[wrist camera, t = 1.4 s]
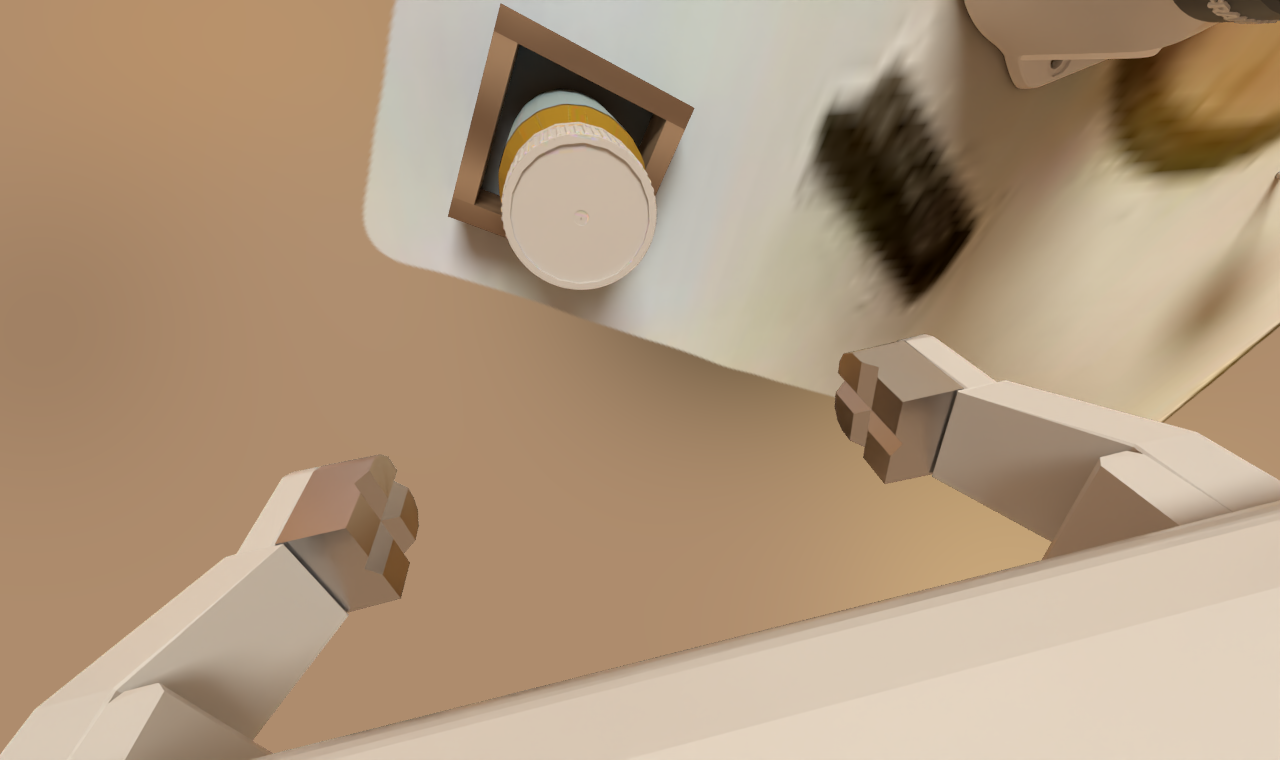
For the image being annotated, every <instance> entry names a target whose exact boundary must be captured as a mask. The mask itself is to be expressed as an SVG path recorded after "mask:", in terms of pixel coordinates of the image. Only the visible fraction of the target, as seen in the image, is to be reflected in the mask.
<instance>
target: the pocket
mask: <svg viewBox="0 0 1280 760" xmlns="http://www.w3.org/2000/svg"><path fill="white" fill-rule="evenodd" d="M520 45H522V46H524V47H526V48H528V49H530V50H532V51H534V52H536V53H537V54H539V55H541V56H543V57H545V58H547V59H549V60H551V61H553V62H555V63H557V64H559V65H561V66H563V67H565V68H566V69H568V70H570V71H572V72H574V73H576V74H578V75H580V76H582V77H584V78H586V79H588V80H590V81H592V82H594V83H596V84H597V85H599V86H601V87H603V88H605V89H607V90H609V91H611V92H613V93H615V94H617V95H619V96H621V97H623V98H625V99H626V100H628V101H630V102H632V103H634V104H636V105H638V106H640V107H642V108H644V109H646V110H648V111H650V112H652V113H653V115H652V117H651V120H650V122H649V124H648V127H647V129H646V132H645V134H644V137H643V139H642V141H641V144H640V146H639V149H638V150H639V152H640V154H641V156H642V158H643V161H644V165H645V170H646V172H647V174H648V175H647V176H648V178H649V179H650V180H651V186H652V187H653V189H654V192H653V193H654V196H655V195H656V193H657V191H658V189H659V186H660V184H661V182H662V180H663V177H664V175H665V173H666V171H667V168H668V166H669V164H670V162H671V159H672V157H673V155H674V153H675V151H676V148H677V146H678V144H679V142H680V139H681V137H682V135H683V133H684V130H685V128H686V126H687V124H688V121H689V119H690V117H691V115H692V112H693V110H694V108H693V107H692V106H690V105H688V104H686V103H684V102H682V101H680V100H679V99H677V98H675V97H673V96H671V95H669V94H668V93H666V92H664V91H662V90H660V89H658V88H656V87H655V86H653V85H651V84H649V83H647V82H645V81H643V80H642V79H640V78H638V77H636V76H634V75H632V74H631V73H629V72H627V71H625V70H623V69H621V68H619V67H618V66H616V65H614V64H612V63H610V62H608V61H606V60H605V59H603V58H601V57H599V56H597V55H595V54H593V53H592V52H590V51H588V50H586V49H584V48H582V47H581V46H579V45H577V44H575V43H573V42H571V41H569V40H568V39H566V38H564V37H562V36H560V35H558V34H556V33H555V32H553V31H551V30H549V29H547V28H545V27H543V26H542V25H540V24H538V23H536V22H534V21H532V20H531V19H529V18H527V17H525V16H523V15H521V14H519V13H518V12H516V11H514V10H512V9H510V8H508V7H506V6H505V5H503V4H500V8H499V12H498V16H497V20H496V24H495V28H494V32H493V36H492V40H491V45H490V49H489V53H488V57H487V61H486V65H485V69H484V73H483V77H482V81H481V85H480V89H479V93H478V97H477V101H476V105H475V109H474V113H473V117H472V121H471V125H470V129H469V134H468V138H467V142H466V146H465V150H464V154H463V158H462V162H461V166H460V170H459V174H458V178H457V182H456V186H455V190H454V194H453V198H452V202H451V206H450V210H449V214H448V217H451V218H454V219H456V220H459V221H462V222H465V223H467V224H470V225H473V226H475V227H478V228H481V229H484V230H486V231H489V232H492V233H495V234H497V235H500V236H503V237H505V238H506V235H505V234H506V232H505V230H504V229H503V221H502V218H501V217H502V212H501V206H502V203H501V199H500V196H499V195H496V194H494V193H491V192H489V191H486V190H483V189H481V186H482V183H483V179H484V175H485V172H486V168H487V164H488V161H489V157H490V153H491V150H492V146H493V142H494V139H495V135H496V131H497V128H498V124H499V120H500V117H501V113H502V109H503V106H504V102H505V98H506V95H507V91H508V87H509V84H510V80H511V76H512V73H513V69H514V65H515V61H516V58H517V54H518V50H519V47H520Z"/></svg>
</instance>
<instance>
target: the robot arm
mask: <svg viewBox="0 0 1280 760" xmlns="http://www.w3.org/2000/svg"><path fill="white" fill-rule="evenodd" d="M964 2H965V5H966V8H967V11H968V13H969V15H970V17H971V19H972V21H973V23H974V24H975V26H976V27H977V29H978V30H979V31H980V32H981V33H982V34H983V35H984V37H986V38H987V39H988V40H989V41H990V42H992V43H993V44H994V45H995V46H996V47H998V48H999V50H1000V51H1001V52H1002V53H1003V55H1004V57H1005V61H1006V64H1007V68H1008V71H1009V74H1010V77H1011V79H1012V81H1013V83H1014V85H1015V86H1016V87H1017V88H1020V89H1028V88H1038V87H1041V86H1043V85H1046V84H1048V83H1051V82H1053V81H1056V80H1058V79H1060V78H1063V77H1065V76H1068V75H1070V74H1073V73H1075V72H1078V71H1080V70H1083V69H1085V68H1088V67H1090V66H1092V65H1095V64H1097V63H1100V62H1102V61H1105V60H1107V59H1128V58H1144V57H1150V56H1154V55H1156V54H1157V53H1158V52H1159V51H1160V50H1161V49H1162V48H1163V47H1165V46H1169V45H1172V44H1175V43H1178V42H1180V41H1183V40H1185V39H1187V38H1189V37H1191V36H1193V35H1195V34H1197V33H1199V32H1202V31H1204V30H1206V29H1208V28H1210V27H1212V26H1214V25H1216V24H1218V23H1220V22H1234V23H1239V24H1261V23H1276V22H1277V21H1279V20H1280V0H964ZM1052 60H1053V62H1052V64H1051V61H1052ZM1050 64H1051V65H1050ZM838 373H839V374H840V376H841V377H842V378H843V379H844V380H845V381H844V383H843V384H842V385H841V386H840V388H839V389H838V390H837V392H836V396H835V410H836V415H837V420H838V422H839V424H840V427H841V429H842V431H843V432H844V433H845V435H846V436H847V437H848V438H849V440H850V441H852V442H855V443H857V444H859V445H861V446H864V447H865V449H864V456H863V458H864V459H865V460H866V461H867V463H868V464H869V465H870V466H871V468H872V469H873V470H874V471H875V473H876V474H877V475H878V476H879V478H880V479H881V480H882V481H883V483H884V484H887V483H891V482H897V481H902V480H906V479H911V478H915V477H921V476H925V475H930V474H932V477H934V478H935V479H937V480H939V481H941V482H943V483H945V484H947V485H948V486H950V487H952V488H954V489H956V490H957V491H959V492H961V493H963V494H965V495H967V496H968V497H970V498H972V499H974V500H976V501H978V502H980V503H981V504H983V505H985V506H987V507H989V508H990V509H992V510H994V511H996V512H998V513H1000V514H1001V515H1003V516H1005V517H1007V518H1009V519H1011V520H1013V521H1014V522H1016V523H1018V524H1020V525H1022V526H1024V527H1025V528H1027V529H1029V530H1031V531H1033V532H1035V533H1036V534H1038V535H1040V536H1042V537H1044V538H1046V539H1047V540H1050V541H1051V542H1052V543H1051V544H1050V546H1049V548H1048V550H1047V552H1046V553H1045V555H1044V557H1043V558H1042V560H1041V561H1037V562H1033V563H1029V564H1025V565H1021V566H1017V567H1013V568H1009V569H1005V570H1001V571H997V572H993V573H990V574H985V575H982V576H977V577H973V578H969V579H966V580H961V581H957V582H953V583H949V584H945V585H941V586H938V587H934V588H930V589H926V590H922V591H918V592H914V593H910V594H906V595H902V596H898V597H894V598H890V599H886V600H882V601H878V602H874V603H870V604H866V605H862V606H858V607H854V608H850V609H846V610H842V611H838V612H834V613H830V614H827V615H823V616H818V617H814V618H810V619H806V620H803V621H799V622H795V623H791V624H787V625H783V626H779V627H775V628H771V629H767V630H763V631H759V632H755V633H751V634H747V635H743V636H739V637H735V638H731V639H728V640H723V641H720V642H715V643H711V644H707V645H703V646H699V647H695V648H691V649H687V650H683V651H680V652H675V653H672V654H668V655H664V656H660V657H656V658H652V659H648V660H644V661H640V662H636V663H632V664H628V665H624V666H620V667H616V668H612V669H608V670H605V671H600V672H596V673H593V674H589V675H585V676H580V677H577V678H573V679H569V680H565V681H561V682H557V683H553V684H549V685H545V686H541V687H537V688H533V689H529V690H525V691H521V692H517V693H513V694H509V695H505V696H501V697H497V698H493V699H489V700H485V701H481V702H477V703H473V704H469V705H466V706H461V707H457V708H453V709H449V710H445V711H442V712H437V713H434V714H429V715H425V716H422V717H418V718H414V719H410V720H406V721H402V722H398V723H394V724H390V725H386V726H382V727H378V728H374V729H370V730H366V731H362V732H358V733H354V734H350V735H346V736H342V737H338V738H334V739H330V740H326V741H322V742H319V743H314V744H310V745H306V746H303V747H298V748H295V749H290V750H286V751H282V752H278V753H274V754H273V753H271V752H270V751H268V750H267V749H265V748H264V747H262V746H260V745H259V744H257V743H255V742H254V741H253V739H254V738H255V737H256V736H257V734H258V733H259V732H260V730H261V729H262V728H263V726H264V725H265V724H266V722H267V721H268V720H269V718H270V717H271V716H272V715H273V713H274V712H275V711H276V709H277V708H278V707H279V705H280V704H281V703H282V701H283V700H284V699H285V698H286V696H287V695H288V694H289V692H290V691H291V690H292V688H293V687H294V686H295V684H296V683H297V682H298V681H299V679H300V678H301V677H302V675H303V674H304V673H305V671H306V670H307V669H308V668H309V666H310V665H311V664H312V662H313V661H314V660H315V658H316V657H317V656H318V654H319V653H320V652H321V650H322V649H323V648H324V647H325V645H326V644H327V643H328V641H329V640H330V639H331V637H332V636H333V635H334V633H335V632H336V631H337V630H338V628H339V627H340V626H341V624H342V623H343V622H344V620H345V619H346V618H347V616H348V613H347V612H351V611H355V610H359V609H363V608H366V607H370V606H374V605H378V604H382V603H385V602H389V601H393V600H397V599H400V598H401V596H402V592H403V588H404V584H405V580H406V576H407V572H408V568H409V564H410V562H409V561H408V559H407V558H406V556H405V555H404V553H405V551H406V550H407V549H408V548H409V547H410V546H411V545H412V544H413V542H414V541H415V540H416V536H417V531H418V527H419V524H418V509H417V506H416V503H415V500H414V497H413V495H412V494H411V492H410V490H409V489H408V488H407V487H405V486H403V485H401V484H399V483H397V482H395V481H394V479H395V475H396V473H397V469H396V468H395V466H394V465H393V463H392V462H391V460H390V459H389V457H387V456H384V455H375V456H370V457H365V458H360V459H354V460H349V461H344V462H339V463H334V464H329V465H325V466H321V467H315V468H311V469H306V470H301V471H296V472H292V473H290V474H288V475H286V476H285V477H283V478H282V479H281V481H280V483H279V484H278V486H277V488H276V490H275V491H274V493H273V494H272V496H271V498H270V499H269V501H268V503H267V505H266V506H265V508H264V509H263V511H262V513H261V514H260V516H259V517H258V519H257V521H256V523H255V524H254V526H253V528H252V529H251V531H250V533H249V534H248V536H247V537H246V539H245V541H244V542H243V544H242V546H241V547H240V549H239V551H238V552H237V554H236V555H232V556H227V557H225V558H224V559H222V560H221V561H220V562H219V563H217V564H216V565H215V566H214V567H212V568H211V569H210V570H209V571H207V572H206V573H205V574H204V575H202V576H201V577H200V578H199V579H197V580H196V581H195V582H194V583H192V584H191V585H190V586H189V587H187V588H186V589H185V590H184V591H182V592H181V593H180V594H179V595H177V596H176V597H175V598H174V599H172V600H171V601H170V602H169V603H167V604H166V605H165V606H164V607H163V608H161V609H160V610H158V611H157V612H156V613H155V614H153V615H152V616H151V617H150V618H148V619H147V620H146V621H145V622H143V623H142V624H141V625H140V626H139V627H137V628H136V629H135V630H134V631H132V632H131V633H130V634H128V635H127V636H126V637H125V638H123V639H122V640H121V641H120V642H118V643H117V644H116V645H115V646H114V647H112V648H111V649H110V650H108V651H107V652H106V653H105V654H103V655H102V656H101V657H100V658H98V659H97V660H96V661H95V662H94V663H92V664H91V665H90V666H88V667H87V668H86V669H85V670H83V671H82V672H81V673H80V674H78V675H77V676H76V677H75V678H73V679H72V680H71V681H70V682H68V683H67V684H66V685H65V686H63V687H62V688H61V689H60V690H58V691H57V692H56V693H55V694H53V695H52V696H51V697H50V698H48V699H47V700H46V701H45V702H43V703H42V704H41V705H40V706H38V707H37V708H36V709H35V710H34V711H33V712H32V714H31V715H30V716H29V718H28V719H27V720H26V722H25V723H24V724H23V725H22V727H21V728H20V729H19V731H18V732H17V733H16V735H15V736H14V737H13V739H12V740H11V741H10V742H9V744H8V745H7V746H6V748H5V749H4V750H3V752H2V753H1V754H0V760H1280V481H1279V480H1277V479H1276V478H1274V477H1272V476H1271V475H1269V474H1267V473H1266V472H1264V471H1262V470H1261V469H1259V468H1257V467H1255V466H1254V465H1252V464H1250V463H1249V462H1247V461H1245V460H1243V459H1241V458H1240V457H1238V456H1237V455H1235V454H1233V453H1231V452H1230V451H1228V450H1226V449H1225V448H1223V447H1221V446H1220V445H1218V444H1216V443H1214V442H1212V441H1211V440H1209V439H1208V438H1206V437H1204V436H1202V435H1201V434H1199V433H1197V432H1194V431H1190V430H1187V429H1183V428H1179V427H1176V426H1172V425H1168V424H1165V423H1161V422H1158V421H1154V420H1150V419H1147V418H1143V417H1139V416H1136V415H1132V414H1128V413H1125V412H1121V411H1117V410H1114V409H1110V408H1106V407H1103V406H1099V405H1095V404H1092V403H1088V402H1084V401H1081V400H1077V399H1073V398H1070V397H1066V396H1062V395H1058V394H1055V393H1051V392H1047V391H1044V390H1040V389H1036V388H1033V387H1029V386H1025V385H1022V384H1018V383H1014V382H1011V381H1007V380H1004V381H999V382H996V381H995V380H993V379H992V378H991V377H989V376H988V375H986V374H985V373H984V372H982V371H981V370H980V369H978V368H977V367H975V366H974V365H973V364H971V363H970V362H969V361H967V360H966V359H964V358H963V357H962V356H960V355H959V354H957V353H956V352H955V351H953V350H952V349H951V348H949V347H948V346H946V345H945V344H944V343H942V342H941V341H939V340H938V339H937V338H935V337H934V336H931V335H927V334H922V335H918V336H914V337H910V338H906V339H902V340H898V341H897V342H893V343H889V344H884V345H880V346H875V347H871V348H866V349H862V350H857V351H853V352H848V353H844V354H843V356H842V358H841V360H840V363H839V370H838Z"/></svg>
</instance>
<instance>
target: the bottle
mask: <svg viewBox="0 0 1280 760" xmlns="http://www.w3.org/2000/svg"><path fill="white" fill-rule="evenodd" d="M647 175H648V174H647V172H646V170H645V165H644V161H643V158H642V156H641V154H640V152H639V150H638V148H637V146H636V145H635V143H634V141H633V139H632V137H631V136H630V134H629V133H628V132H627V131H626V130H625V129H624V128H623V127H622V126H621V125H620V124H619V123H618V122H617V120H616V119H615V118H614V117H613V116H612V115H611V114H610V113H609V112H608V111H607V110H606V109H605V108H604V107H603V106H602V105H601V104H600V103H599V102H598V101H596V100H595V99H593V98H592V97H590V96H588V95H585V94H583V93H581V92H579V91H575V90H568V89H554V90H551V91H547V92H543V93H541V94H539V95H537V96H536V97H534V98H533V99H532V100H530V101H529V102H527V103H526V104H525V106H524V107H523V108H522V109H521V111H520V112H519V114H518V115H517V117H516V118H515V120H514V123H513V125H512V128H511V131H510V134H509V136H508V139H507V142H506V145H505V148H504V151H503V155H502V159H501V162H500V166H499V176H498V177H499V194H500V199H501V203H502V206H501V212H502V217H501V218H502V221H503V229H504V230H505V232H506V234H505V235H506V238H508V241H509V245H510V246H511V247H512V249H513V252H514V253H515V254H516V256H517V257H518V259H519V260H520V261H521V262H522V263H523V264H524V266H526V267H527V268H528V269H529V270H530V271H531V272H532V273H533V274H535V275H536V276H538V277H539V278H541V279H542V280H544V281H546V282H548V283H550V284H553V285H556V286H559V287H562V288H567V289H574V290H588V289H595V288H600V287H603V286H606V285H609V284H611V283H614V282H616V281H617V280H619V279H621V278H622V277H624V276H625V275H627V274H628V273H629V272H630V271H631V270H633V269H634V268H635V267H636V266H637V264H638V263H639V262H640V261H641V259H642V258H643V257H644V255H645V253H646V252H647V250H648V248H649V246H650V244H651V241H652V238H653V235H654V231H655V226H656V217H657V214H656V209H657V205H656V202H655V201H656V197H655V196H654V193H653V192H654V189H653V187H652V186H651V180H650V179H649V178H648V176H647Z"/></svg>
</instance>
